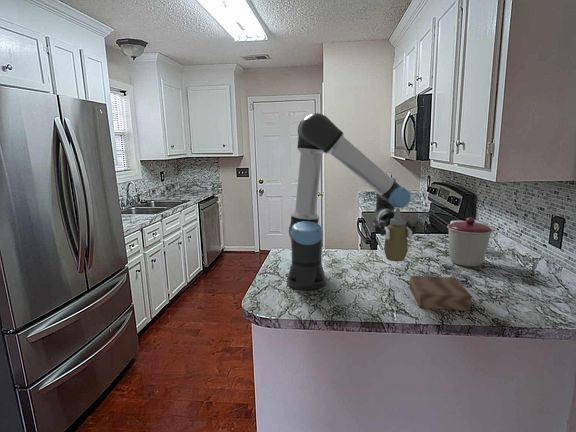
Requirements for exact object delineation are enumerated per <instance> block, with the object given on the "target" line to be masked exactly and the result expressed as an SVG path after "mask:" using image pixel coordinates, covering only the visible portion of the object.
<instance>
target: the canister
mask: <svg viewBox="0 0 576 432" xmlns="http://www.w3.org/2000/svg"><path fill="white" fill-rule="evenodd" d="M465 221H466V222H454V223H451V222H450V223H451V224H450V223H449V224H447V226H446V227H447V229H448V249H449V251H448V252H449V253H448V255H449V258H450V260H451V262H452V263H454V264H456V265H459V266H461V267H462V266H463V267H471V268H472V267H480V266H482V264H483V263H484V260H485V259H486V255H487V250H488V247H489V242H490V239H491V234H492V233H493V232H494V230H493V228H492V227H490V226H488V225H487V224H484V223H480V222H476V220H475V218H474V217H467V218H466V219H465Z"/></svg>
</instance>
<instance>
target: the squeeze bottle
mask: <svg viewBox="0 0 576 432" xmlns="http://www.w3.org/2000/svg"><path fill="white" fill-rule="evenodd" d="M394 212H395V215H394V218H392V219H390V225H388V226H387V228H388V230H389V231H390V237H389V239H387V238H386V237H385V239H384V246H383V251H384V254H385V257H386V259H387V261H390V262H403V261H405V258H406V257H407V255H408V250H409V248H408V247H409V246H408V245H409V244H408V237H407V227H406V226H405V225H404V223H405V219H404V218H402V216H401V209H400V208H396V209H395V210H394Z"/></svg>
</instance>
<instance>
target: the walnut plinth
mask: <svg viewBox="0 0 576 432" xmlns="http://www.w3.org/2000/svg"><path fill="white" fill-rule="evenodd" d="M409 277H410V278H409V290H410V292H411V294H412V296H413V297H414V299H415V301H416V304H417V306H418V307H419V309H431V310H432V309H435V310H452V309H454V310H455V311H471V307H472V306H471V305H472V299H473V296H472V295H471V294H470V292H469V291H468V290H467V289H466V288H465V287H464V286H463V284H462V283H461V282H460V281H459V280H458V279H457V278H456V277H455V276H454V277H453V276H452V277H451V276H449V277H448V276H429V275H428V276H427V275H410V276H409Z"/></svg>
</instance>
